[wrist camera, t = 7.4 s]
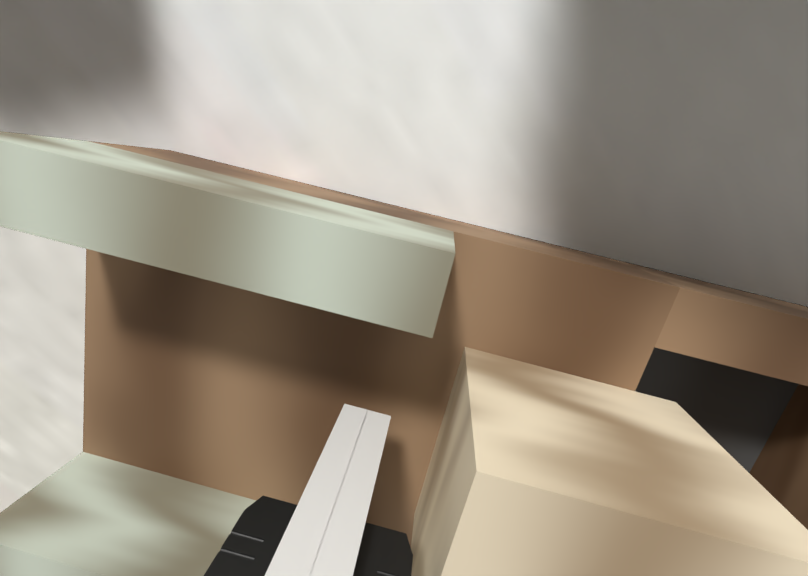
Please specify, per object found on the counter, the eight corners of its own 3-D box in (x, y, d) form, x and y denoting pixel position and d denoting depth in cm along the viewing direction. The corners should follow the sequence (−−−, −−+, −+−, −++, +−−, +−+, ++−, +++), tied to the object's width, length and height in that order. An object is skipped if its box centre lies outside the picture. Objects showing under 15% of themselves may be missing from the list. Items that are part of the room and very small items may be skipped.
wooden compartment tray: (150, 433, 21) (-27, 583, 13) (170, 150, 17) (-64, 124, 9) (723, 593, 19) (903, 863, 12) (882, 325, 16) (1302, 464, 8)
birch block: (414, 513, 15) (393, 714, 10) (464, 346, 13) (476, 471, 8) (598, 565, 15) (691, 804, 9) (676, 402, 13) (854, 575, 7)
